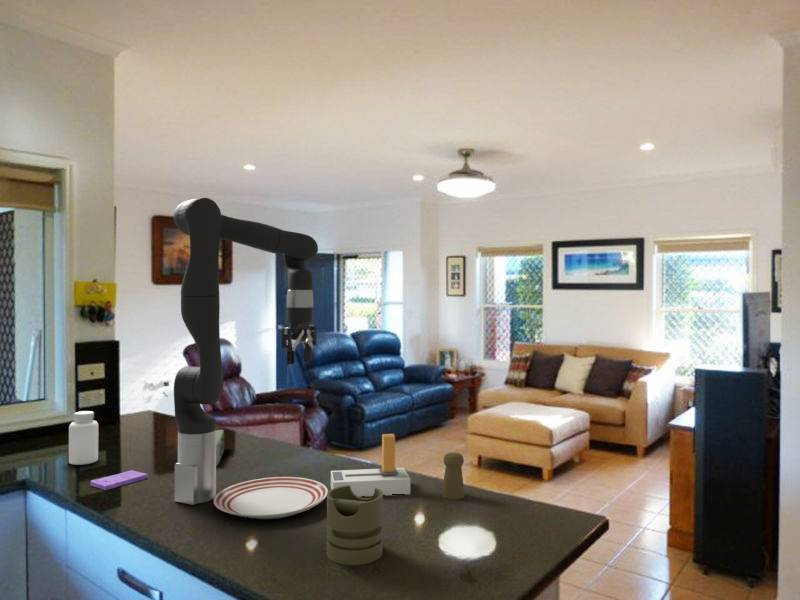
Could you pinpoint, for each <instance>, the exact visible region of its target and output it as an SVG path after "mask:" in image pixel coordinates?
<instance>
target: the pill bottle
mask: <svg viewBox="0 0 800 600" xmlns="http://www.w3.org/2000/svg"><path fill="white" fill-rule="evenodd" d="M94 418H95V412H94V411H92V410H91V411H90V410H80V411H77V412H74V415H73V420H74V421H72V422H71V423H70V424H69V426H68V462H69V464H70V465H74V466H76V465H78V466H83V465H89V464H93V463H96V462H97V461H99V460H98V459H99V423H98V422H97V420H94Z"/></svg>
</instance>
